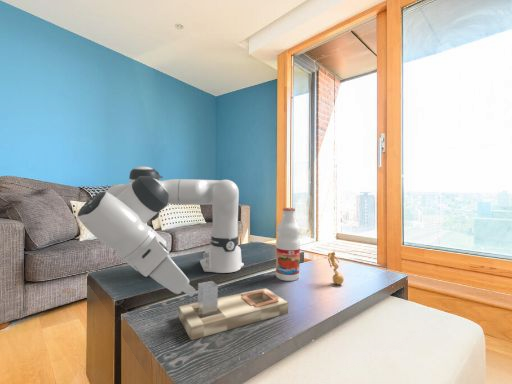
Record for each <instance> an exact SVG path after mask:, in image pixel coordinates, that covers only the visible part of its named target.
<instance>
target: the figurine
mask: <svg viewBox="0 0 512 384" xmlns="http://www.w3.org/2000/svg"><path fill="white" fill-rule="evenodd" d="M327 257H328V258H327V260H328V264H329V266H330V268H332V267H333V269H332V270H333V273H334V274H333V275H332V281H333V283H334V284H335V285H337V286H338V285H342V284H343V283H344V277H343V275H342V274H340V272H338V271H337V269H339V264H338V263H340V261H339V260H338V258H337V257H336V253H335V251H331V252H328V254H327ZM336 261H337V262H338V263H337V262H336Z"/></svg>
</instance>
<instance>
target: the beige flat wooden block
mask: <svg viewBox="0 0 512 384" xmlns="http://www.w3.org/2000/svg"><path fill="white" fill-rule="evenodd" d="M288 313H289V302H288V301H287V300H285V299H283V298H282V297H280V296H279V295H277V294H276V293H274V292H273V291H271V290H270V289H269V288H266V287H264V288H259V289H255V290H250V291H244V292H241V293H240V292H239V293H237V294H236V293H235V294H231V295H226V296H221V297H218V308H217V315H212V316H208V317H204V318H199V316H198V301H197V302H193V303H189V304H184V305H179V306H178V319H179V320H180V323H181V324H182V326H183V328H184V330H185V332H186V333H187V335H188V337H189V340H190V341H194V340H197V339H200V338H203V337H208V336H211V335H215V334H218V333H222V332H226V331H228V330H232V329H235V328H239V327H240V328H241V327H242V326H247V325H250V324H253V323H257V322H261V321H264V320H268V319H271V318H275V317H278V316H281V315H285V314H288Z"/></svg>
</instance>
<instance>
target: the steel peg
mask: <svg viewBox="0 0 512 384" xmlns="http://www.w3.org/2000/svg"><path fill="white" fill-rule="evenodd" d="M218 294H219V285H218V284H217V283H215V282H214V281H213V280H210V281H209V280H208V281H203V282H198V283H197V302H198V316H199V318H204V317H208V316H212V315H217V308H218V298H219V295H218Z"/></svg>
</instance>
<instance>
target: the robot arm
mask: <svg viewBox="0 0 512 384" xmlns="http://www.w3.org/2000/svg"><path fill="white" fill-rule="evenodd" d="M163 178H164V177H163V176H162V175H160V173H159V171H157V170H156V169H155V168H152V167H150V166H144V165H143V166H138V167H135V168H132V169H131V170H130V171H129V178H128V179H129V182H128V183H119V184H115V185H112V186H111V187H109V188H108V189H107V190H105V191H102V192H98V193H97V194H94V196H92V197H91V198H89V199H88V200H87V201H85V203H84V204H83V205H82V206H81V207H80V209H79V210H78V213H77V219H78V220H79V221H80V223H81V224H82V225H83V226H84V227H85V228H86V230H88V232H89V233H90V234H92V235H93V236H94V238H95V239H97V240H98V241H99V242H101V243H102V244H103V245H105V246H106V247H109V248H111V249H112V250H114V252H116V253H117V255H118V256H119V258H121V260H123V261H124V262H125V263H127V264H128V265H129V266H131V267H132V268H133V269H134V270H135V271H136V272H138V273H140V274H141V275H142V276H143V277H145V278H146V277H148V276H149V277H150V278H152V279H153V280H154V281H155V282H157V283H158V284H159V285H161V286H162V287H164V288H165V289H167V290H169V291H170V292H172V293H174V294H176V295H179V294H181V293H182V292H183V293H185V294H186V295H188V296H189V297H193V296H194V295H196V293H197V290H196V289H195V288H194V287H193V285H191V284H190V279H189V277H187V276H186V274H185V273H184V272H183V270H182V269H181V268H180V267H179V266H178V265H177V264H176V263H175V261H174V260H173V258H172V257H171V256H170V252H169V250H168V248H167V240H166V239H165V238H163V237H162V235H160V234H159V233H158V232H157V231H156V230H155V229H153V228H152V226H150V225H149V224H147V223H150V222H153V221H155V220H157V219H158V218H159V216H160V212H162V210H163V209H164V208H166V207H167V206H168V205H169V204H170V205H179V206H180V205H182V206H183V205H184V206H185V205H186V206H187V205H191V206H193V205H194V206H201V205H202V206H203V205H204V206H205V205H212V233H211V234H212V235H211V237H210V245H209V246H208V247H207V248H206V249H205V250H204V251H205V252H203V253H202V258H203V259H200V260H199V263H200V266H201V268H202V270H203V272H206V273H207V272H208V273H215V274H216V273H217V274H218V273H219V274H226V273H233V272H237V271H240V270H241V268H243V267H244V266H245V265H244V262H242V249H241V247H240V246H239V241H240V240H239V235H238V230H239V229H238V228H239V227H238V225H239V202H240V201H239V199H240V196H239V195H240V192H239V191H240V190H239V187H238V185H237V184H236V183H235V182H234V181H232V180H230V179H221V180H219V179H218V180H216V179H197V178H196V179H194V178H191V179H187V178H186V179H185V178H182V179H181V178H173V179H165V180H160V179H163Z"/></svg>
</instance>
